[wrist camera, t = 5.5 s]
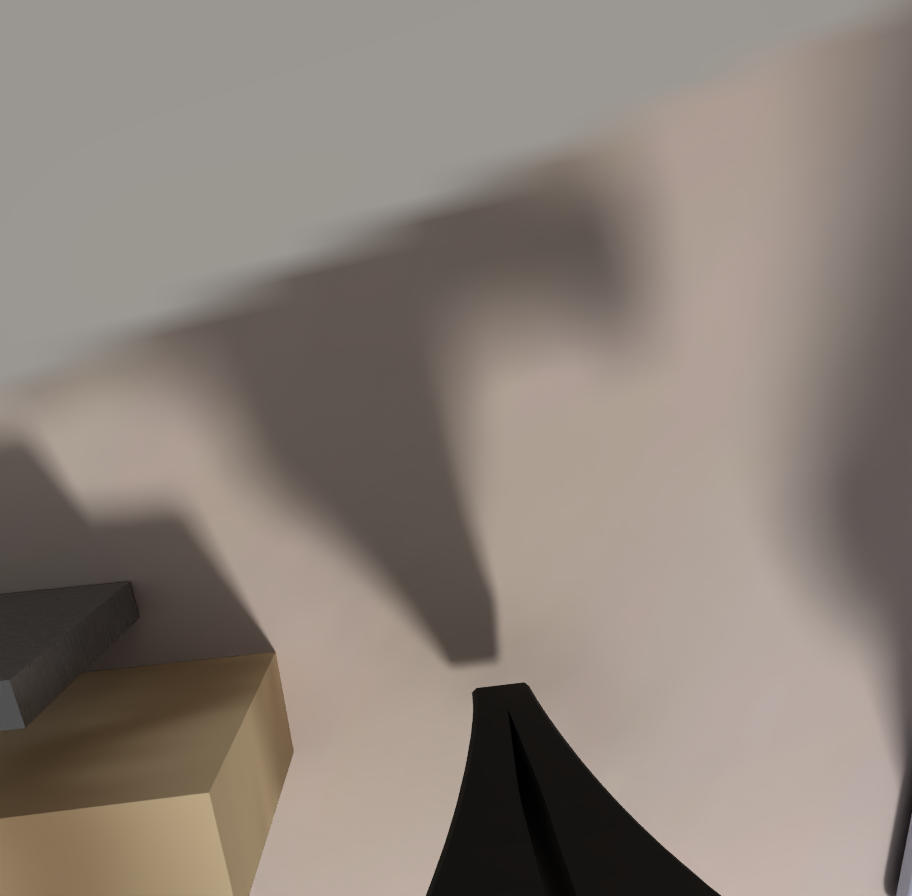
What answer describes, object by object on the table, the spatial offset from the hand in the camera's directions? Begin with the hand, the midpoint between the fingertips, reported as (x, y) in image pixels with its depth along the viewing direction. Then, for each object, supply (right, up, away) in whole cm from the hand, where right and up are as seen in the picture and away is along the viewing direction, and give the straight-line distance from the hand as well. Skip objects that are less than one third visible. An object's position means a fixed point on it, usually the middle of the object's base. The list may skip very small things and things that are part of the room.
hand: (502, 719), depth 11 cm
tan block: (-9, 0, +1) cm, 9 cm away
